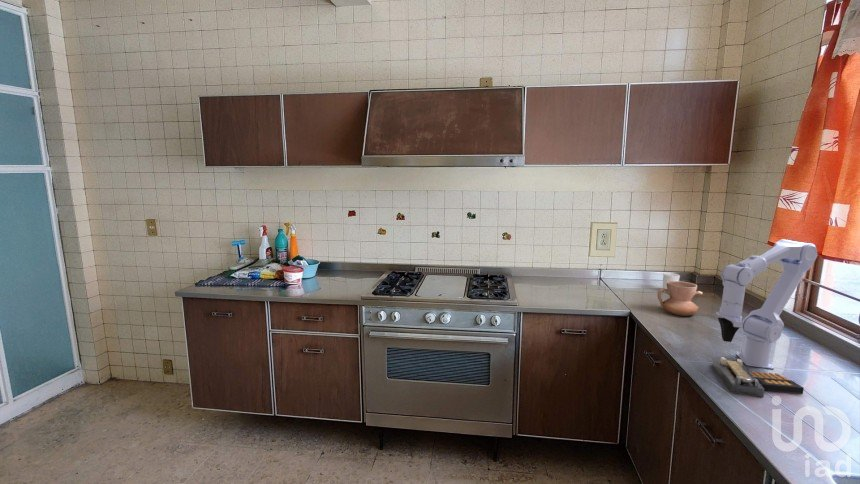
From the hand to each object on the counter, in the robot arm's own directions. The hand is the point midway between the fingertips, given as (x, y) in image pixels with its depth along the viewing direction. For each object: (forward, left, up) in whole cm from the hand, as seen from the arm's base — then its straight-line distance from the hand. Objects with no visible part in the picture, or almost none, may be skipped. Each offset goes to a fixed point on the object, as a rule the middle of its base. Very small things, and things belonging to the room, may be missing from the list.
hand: (726, 340), depth 142 cm
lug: (+4, +1, -7) cm, 8 cm away
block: (+9, +1, -9) cm, 13 cm away
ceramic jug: (-58, -2, -10) cm, 59 cm away
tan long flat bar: (+10, +1, -7) cm, 12 cm away
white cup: (-96, +2, -10) cm, 97 cm away
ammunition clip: (+13, +12, -8) cm, 20 cm away
